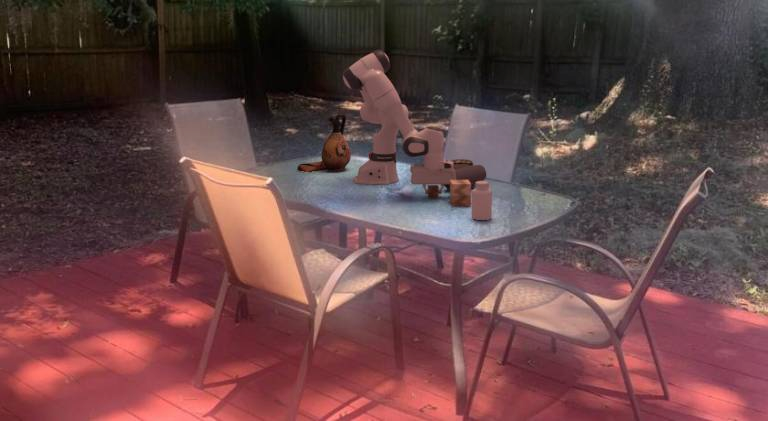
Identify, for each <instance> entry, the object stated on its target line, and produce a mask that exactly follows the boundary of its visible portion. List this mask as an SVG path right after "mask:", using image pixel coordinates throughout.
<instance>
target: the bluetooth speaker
mask: <svg viewBox="0 0 768 421" xmlns="http://www.w3.org/2000/svg"><path fill="white" fill-rule="evenodd" d="M455 173H456V180H469V182H470V183H471V188H473V187H474V185H475V183H476V182H477V181H486V178H487V170H486V168H485V166H483V165H481V164H473V165H472V166H467V167H463V168H459V169H455ZM444 188H445V189H447V190H449V191H450V184H444Z"/></svg>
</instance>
